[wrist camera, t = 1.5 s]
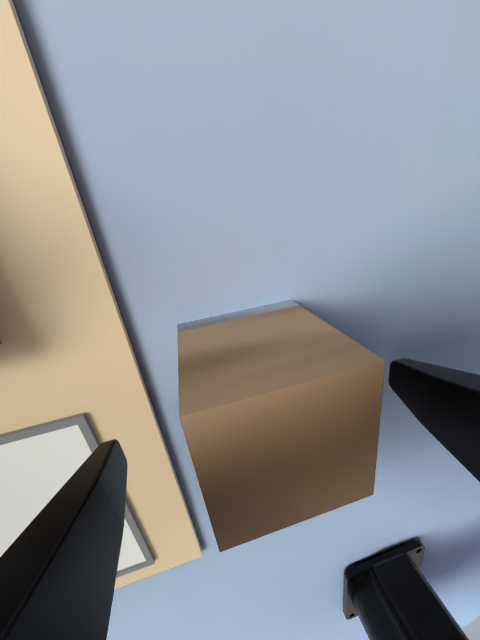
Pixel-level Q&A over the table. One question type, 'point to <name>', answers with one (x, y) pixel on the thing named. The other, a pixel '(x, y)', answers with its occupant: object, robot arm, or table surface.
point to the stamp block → (277, 417)
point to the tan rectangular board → (68, 341)
